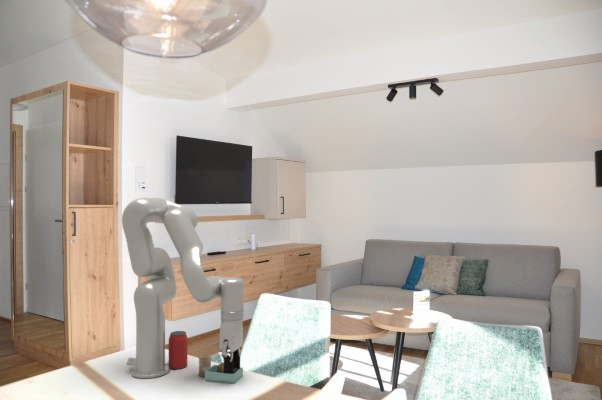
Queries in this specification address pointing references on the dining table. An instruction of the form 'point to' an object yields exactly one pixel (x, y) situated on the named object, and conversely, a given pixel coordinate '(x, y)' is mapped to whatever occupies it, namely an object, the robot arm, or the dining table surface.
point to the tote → (223, 375)
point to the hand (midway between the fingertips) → (232, 370)
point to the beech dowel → (204, 364)
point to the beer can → (178, 350)
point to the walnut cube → (220, 368)
